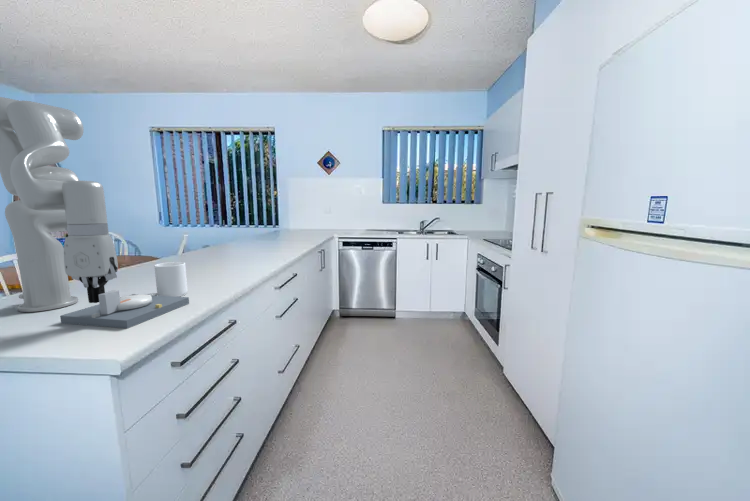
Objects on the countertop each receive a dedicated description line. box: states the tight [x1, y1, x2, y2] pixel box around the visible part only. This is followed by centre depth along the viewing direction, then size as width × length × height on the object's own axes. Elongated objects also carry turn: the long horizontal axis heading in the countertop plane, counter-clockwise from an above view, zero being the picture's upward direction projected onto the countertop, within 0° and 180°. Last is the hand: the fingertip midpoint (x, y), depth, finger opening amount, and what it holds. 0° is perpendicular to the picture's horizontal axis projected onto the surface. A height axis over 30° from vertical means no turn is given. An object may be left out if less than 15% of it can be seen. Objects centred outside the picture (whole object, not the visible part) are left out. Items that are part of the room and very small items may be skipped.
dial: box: [98, 290, 152, 314], centre depth 85 cm, size 13×10×5 cm
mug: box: [153, 261, 188, 297], centre depth 105 cm, size 9×12×11 cm
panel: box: [59, 293, 190, 329], centre depth 87 cm, size 20×20×3 cm
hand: (97, 301), depth 80 cm, fingers closed
